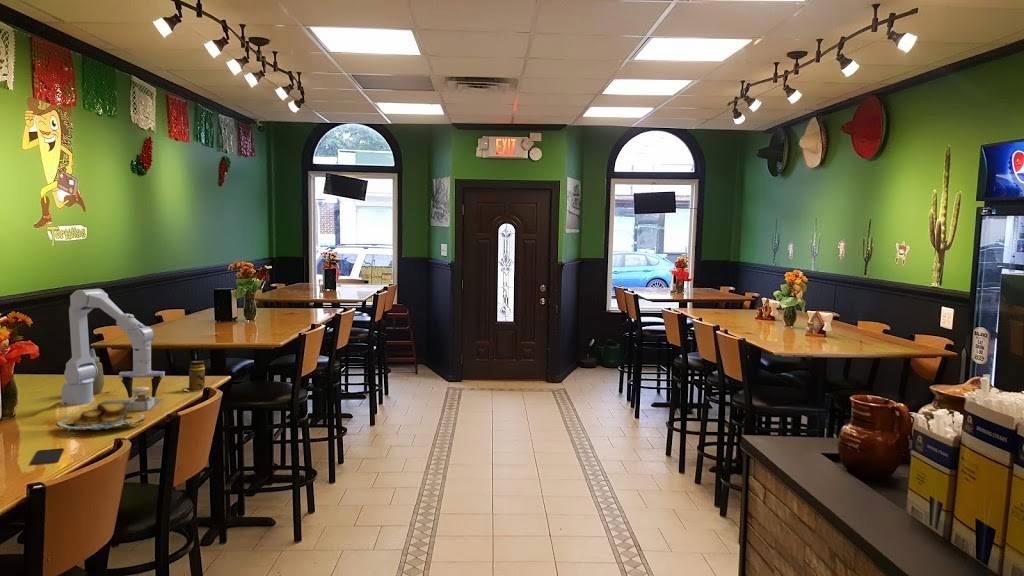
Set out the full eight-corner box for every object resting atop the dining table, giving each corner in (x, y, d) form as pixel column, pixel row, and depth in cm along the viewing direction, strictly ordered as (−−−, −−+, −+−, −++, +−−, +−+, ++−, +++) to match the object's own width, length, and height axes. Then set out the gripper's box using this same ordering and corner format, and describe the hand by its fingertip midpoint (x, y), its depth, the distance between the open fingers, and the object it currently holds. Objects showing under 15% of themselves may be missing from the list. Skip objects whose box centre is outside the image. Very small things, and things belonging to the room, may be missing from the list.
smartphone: (65, 447, 198) (58, 462, 185) (65, 449, 198) (58, 464, 185) (36, 450, 194) (28, 465, 182) (36, 452, 194) (28, 467, 182)
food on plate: (37, 433, 211) (37, 413, 211) (97, 414, 236) (97, 396, 236) (107, 440, 207) (107, 419, 207) (161, 419, 232) (161, 401, 232)
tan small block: (137, 408, 239) (137, 394, 238) (140, 405, 243) (140, 392, 242) (145, 408, 239) (145, 394, 239) (148, 405, 243) (148, 392, 243)
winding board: (88, 416, 232) (88, 398, 231) (104, 404, 248) (104, 387, 248) (150, 414, 237) (150, 396, 236) (162, 402, 253) (162, 386, 253)
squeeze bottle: (106, 390, 269) (106, 347, 268) (101, 395, 261) (101, 350, 260) (84, 391, 266) (83, 347, 265) (77, 395, 259) (77, 350, 257)
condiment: (206, 390, 276) (207, 362, 275) (184, 392, 271) (184, 363, 270) (204, 386, 282) (204, 359, 281) (182, 388, 277) (182, 360, 276)
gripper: (116, 362, 233) (116, 400, 234) (161, 362, 237) (161, 399, 238) (122, 358, 240) (122, 395, 241) (166, 358, 244) (166, 394, 245)
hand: (142, 397), depth 240 cm, fingers open, 7 cm apart
